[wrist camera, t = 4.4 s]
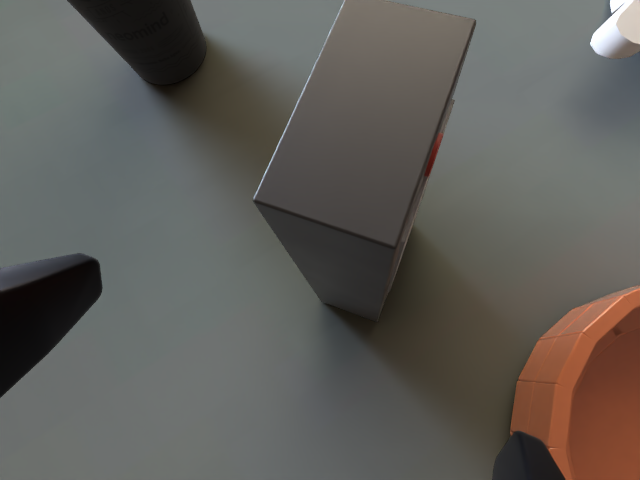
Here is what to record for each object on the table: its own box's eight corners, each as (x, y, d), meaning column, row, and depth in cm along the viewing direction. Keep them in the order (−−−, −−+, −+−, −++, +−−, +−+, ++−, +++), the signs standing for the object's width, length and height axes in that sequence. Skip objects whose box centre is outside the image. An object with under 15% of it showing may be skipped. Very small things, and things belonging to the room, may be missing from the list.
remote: (320, 301, 20) (250, 200, 8) (357, 204, 22) (347, -10, 9) (379, 323, 20) (402, 252, 7) (414, 222, 21) (482, 19, 9)
